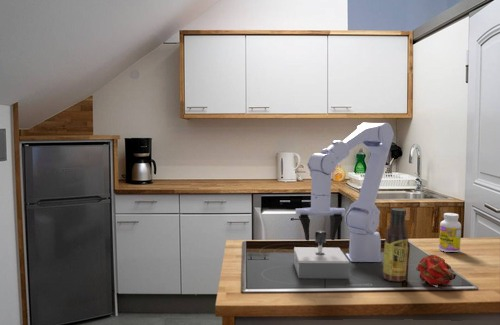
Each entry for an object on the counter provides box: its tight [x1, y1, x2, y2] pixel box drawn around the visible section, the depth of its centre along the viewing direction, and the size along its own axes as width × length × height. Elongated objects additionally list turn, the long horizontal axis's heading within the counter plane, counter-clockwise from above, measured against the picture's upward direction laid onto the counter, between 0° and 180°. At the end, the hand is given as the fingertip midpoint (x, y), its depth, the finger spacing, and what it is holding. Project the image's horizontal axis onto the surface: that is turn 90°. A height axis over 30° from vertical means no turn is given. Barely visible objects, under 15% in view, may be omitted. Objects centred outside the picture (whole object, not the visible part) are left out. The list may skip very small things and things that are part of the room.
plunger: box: [314, 230, 327, 255], centre depth 138 cm, size 11×11×8 cm
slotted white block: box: [293, 246, 350, 280], centre depth 138 cm, size 14×14×5 cm
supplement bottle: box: [438, 212, 462, 253], centre depth 160 cm, size 7×7×13 cm
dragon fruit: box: [415, 254, 457, 287], centre depth 128 cm, size 8×8×12 cm
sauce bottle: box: [382, 207, 409, 283], centre depth 131 cm, size 6×6×20 cm
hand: (319, 239), depth 139 cm, fingers open, 7 cm apart
